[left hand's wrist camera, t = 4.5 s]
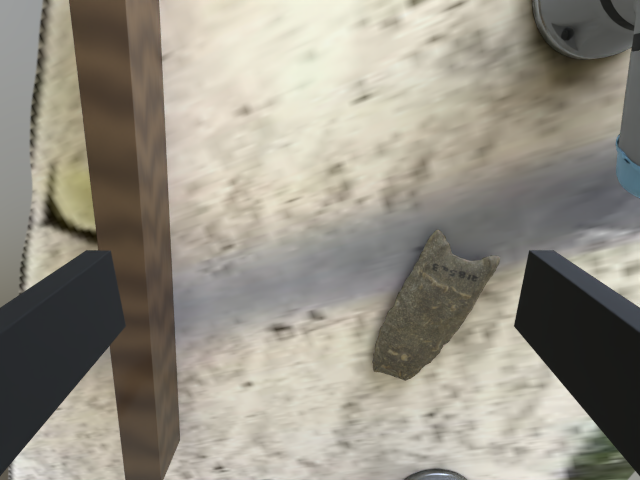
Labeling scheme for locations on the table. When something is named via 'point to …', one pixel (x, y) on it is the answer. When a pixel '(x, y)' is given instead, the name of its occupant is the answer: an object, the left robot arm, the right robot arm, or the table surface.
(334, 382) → the table surface
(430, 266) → the stone tool
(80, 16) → the beam
